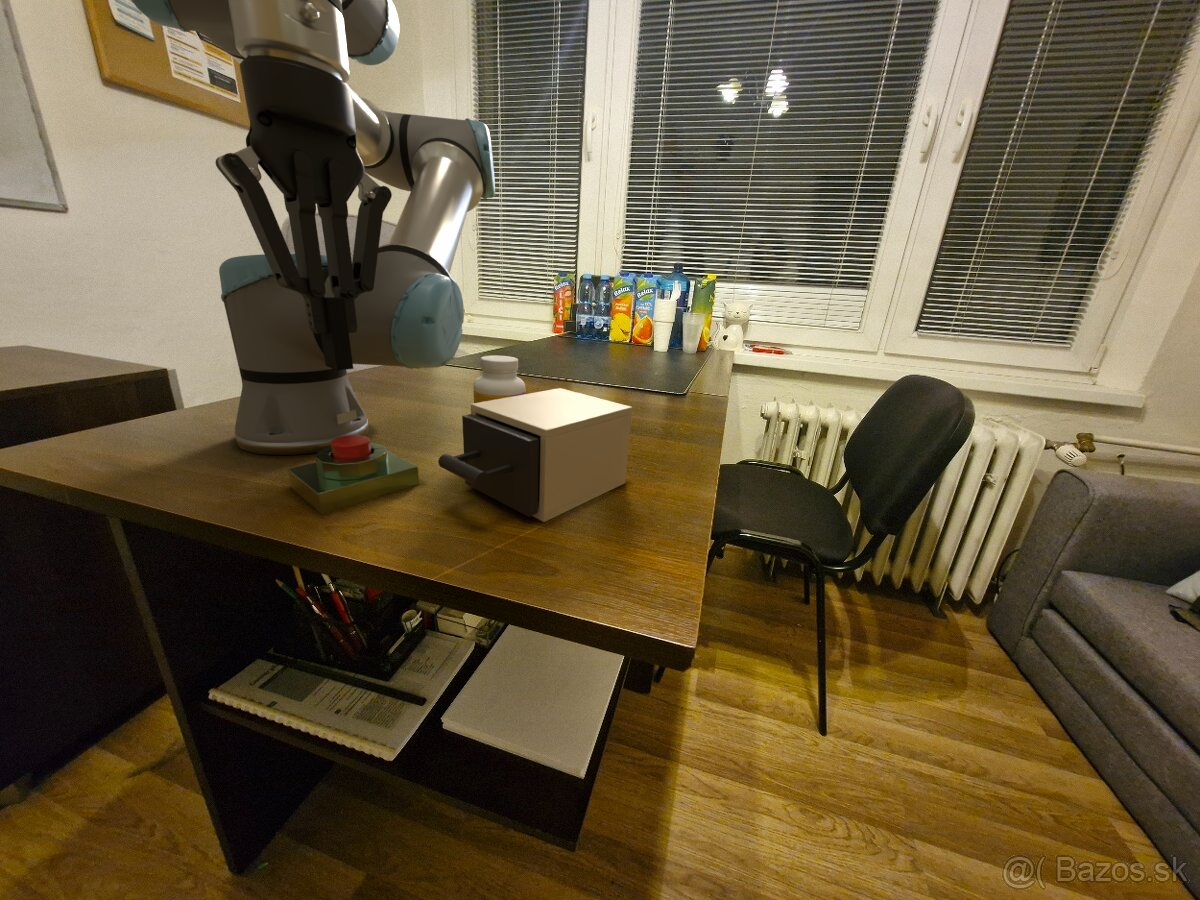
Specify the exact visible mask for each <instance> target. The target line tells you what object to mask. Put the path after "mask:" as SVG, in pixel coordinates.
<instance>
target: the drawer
mask: <svg viewBox="0 0 1200 900" xmlns="http://www.w3.org/2000/svg"><path fill="white" fill-rule="evenodd" d="M461 418H462V444H463V453H461V454H457V455H454V456H452V455H451V454H449V453H444V454H442V455H440V456H439V458H438V466H439V467H440V468H441V469H444V470H446V471H448V472H450V473H452V474H454V475H456V476H457V477H459V478H461V479H463V480H464V484H465V485H467V486H469V487H471V488H473V489H474V490H477V491H478V492H480V493H483V494H484V495H486V496H488V497H490V498H492V499H494V500H496V501H497V502H499V503H501V504H503V505H505V506H506V507H509V508H511V509H513V510H515V511H516V512H518V513H520V514H522V515H524V516H526V517H528V518H530V517H533V516H532V515H534V514H537V510H538V502H539V490H540V439H541V436H539V435H536V434H533V433H531V432H528V431H525V430H522V429H520V428H517V427H514V426H511V425H509V424H506V423H503V422H500V421H498V420H495V419H492V418H489V417H486V419H484V418H481V417H478V416H475V415H473V414H471V413H470V414H463V415H462V416H461Z"/></svg>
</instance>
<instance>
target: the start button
mask: <svg viewBox="0 0 1200 900" xmlns="http://www.w3.org/2000/svg"><path fill="white" fill-rule="evenodd" d="M370 442H371V438H370V437H369V436H367V435H366V436H363V435H348V436H342V437H339V438H336V439H334V440H332V441H331V446H332V453H333V458H334V459H341V460H348V459H358V458H362V457H367V456H369V455H370V454H372V451H371V443H372V442H371V443H370Z"/></svg>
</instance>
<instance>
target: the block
mask: <svg viewBox="0 0 1200 900" xmlns="http://www.w3.org/2000/svg"><path fill="white" fill-rule="evenodd" d="M370 443H371V451H372V454H370V455H369V456H367V457H362V458H358V459H348V460H341V459H334V458H333V453H332V446H330V447H328V448H326V449H323V450H321V451H319V452H317V454H316V456H315V462H312V463H308V464H304V465H300V466H295V467H291V468H290V467H289V468H287V473H288V478H289V483H290V487H291V488H290V489H292V490H293V491H294V492H296V493H297V494H298V495H299V496H300V497H301V498H302V499H304V500H305V501H306V502H307V503H308V504H309V505H311V507H313V508H314V509H315V510H316V511H317V512H318V513H319V514H320V515H324V514H327V513H329V512H333V511H337V510H340V509H343V508H347V507H349V506H352V505H355V504H360V503H363V502H365V501H366V502H367V501H369V500H372V499H375V498H378V497H383V496H385V495H389V494H392V493H395V492H398V491H402V490H405V489H408V488H412V487H415V486H418V485H420V478H419V477H420V476H419V467H418V466H417V465H416V464H413V463H412V462H410V461H408V460H407V459H405V458H403V457H401V456H400V455H398V454H395V453H394V452H391V451H390V450H388V447H386V446H385V445H383V444H381V443H379V442H371V441H370Z"/></svg>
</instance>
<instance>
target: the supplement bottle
mask: <svg viewBox="0 0 1200 900" xmlns="http://www.w3.org/2000/svg"><path fill="white" fill-rule="evenodd" d="M480 368H481V370H482V374H481V376H478V377H477V378H475V380H474V381H473V388H472V389H473V404H474V403H479V402H485V401H490V400H496V399H502V398H507V397H513V396H518V395H524V394H527V391H526V384H525V381H524V380H523V379H522V378H520V377H518V376H517V375H518V374H517V372H518V369H519V359H518V358H517V357H514V356H509V355H483V356H481V357H480Z"/></svg>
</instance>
